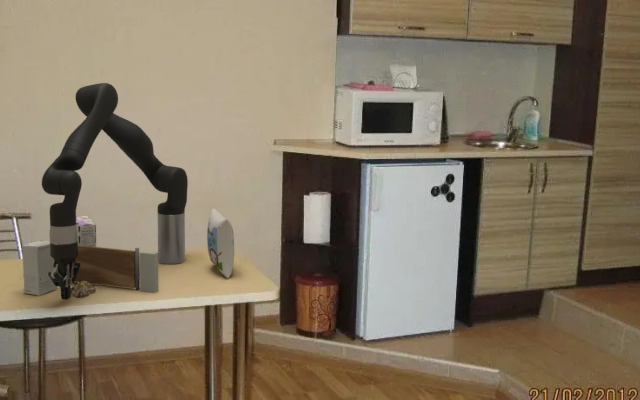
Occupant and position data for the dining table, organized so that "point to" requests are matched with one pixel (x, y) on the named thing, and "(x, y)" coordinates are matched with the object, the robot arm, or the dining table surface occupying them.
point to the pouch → (220, 242)
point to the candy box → (86, 231)
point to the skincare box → (37, 268)
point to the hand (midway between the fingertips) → (65, 298)
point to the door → (106, 266)
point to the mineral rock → (82, 289)
